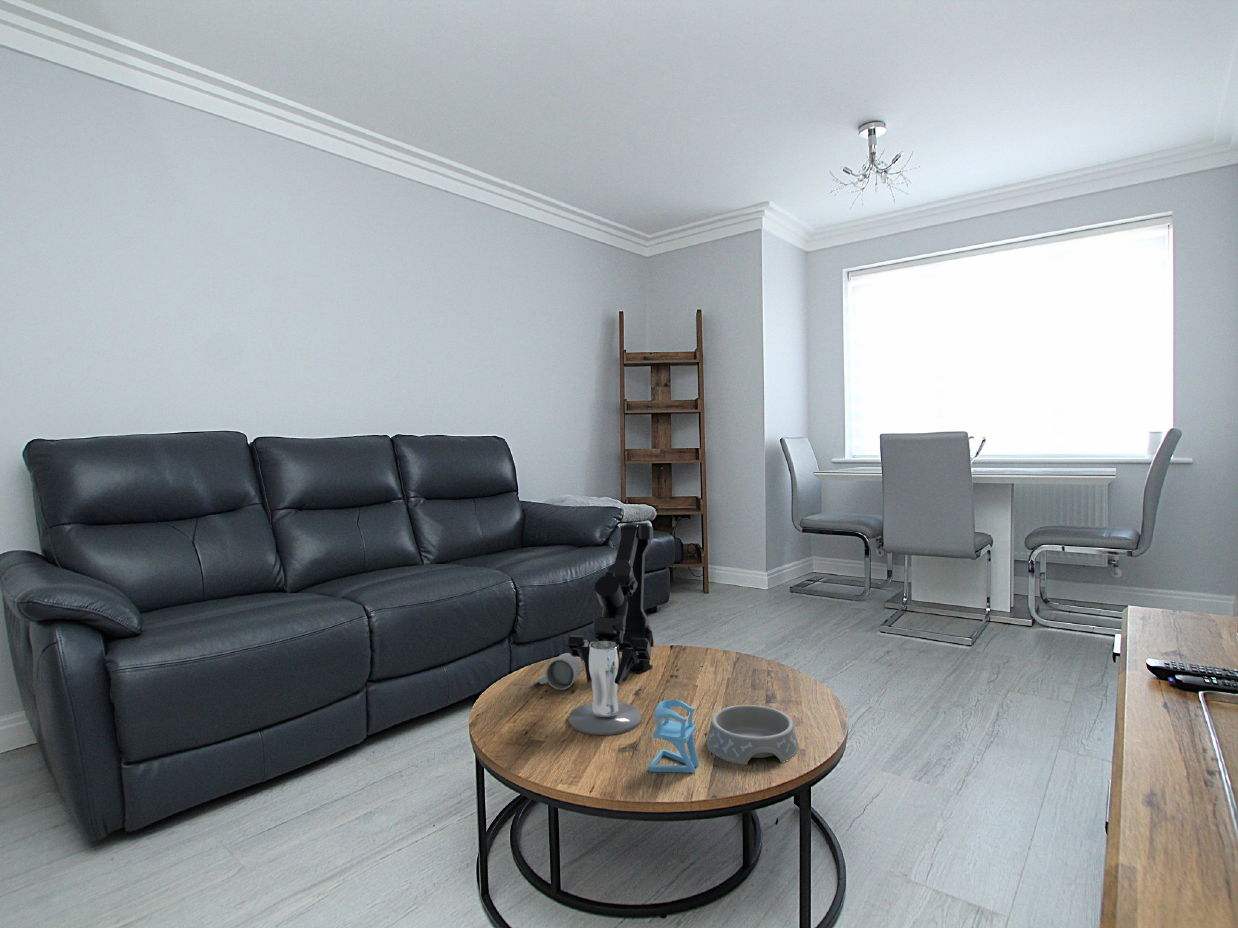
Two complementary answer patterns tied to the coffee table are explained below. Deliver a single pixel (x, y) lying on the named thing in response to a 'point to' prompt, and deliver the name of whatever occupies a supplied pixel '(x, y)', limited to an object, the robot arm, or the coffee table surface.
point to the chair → (675, 737)
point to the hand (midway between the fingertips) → (603, 683)
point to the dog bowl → (751, 734)
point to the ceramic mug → (562, 672)
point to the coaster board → (605, 720)
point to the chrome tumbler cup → (604, 677)
